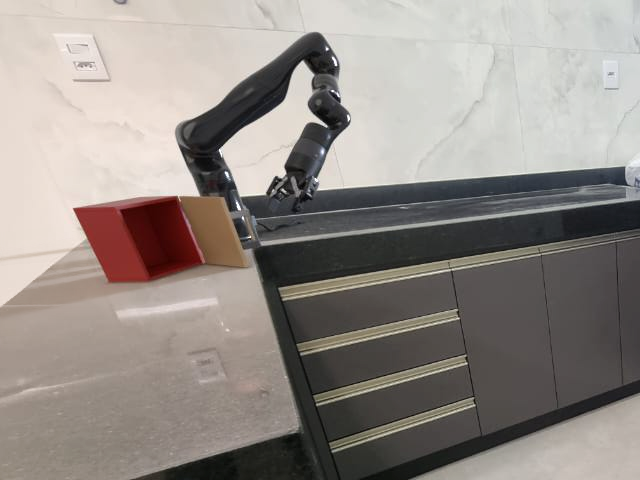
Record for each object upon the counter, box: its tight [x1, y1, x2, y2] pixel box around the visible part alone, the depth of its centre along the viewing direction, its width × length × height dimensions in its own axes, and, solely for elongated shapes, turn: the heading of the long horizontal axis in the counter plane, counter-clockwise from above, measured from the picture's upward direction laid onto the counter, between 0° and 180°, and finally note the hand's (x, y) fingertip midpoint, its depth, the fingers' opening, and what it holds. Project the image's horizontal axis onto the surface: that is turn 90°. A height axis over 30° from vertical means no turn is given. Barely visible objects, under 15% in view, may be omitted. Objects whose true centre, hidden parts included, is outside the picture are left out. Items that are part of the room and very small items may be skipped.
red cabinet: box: [72, 195, 206, 283], centre depth 123 cm, size 10×16×17 cm, turn 175°
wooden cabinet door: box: [178, 195, 262, 269], centre depth 129 cm, size 7×16×16 cm, turn 67°
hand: (281, 212), depth 136 cm, fingers open, 8 cm apart
